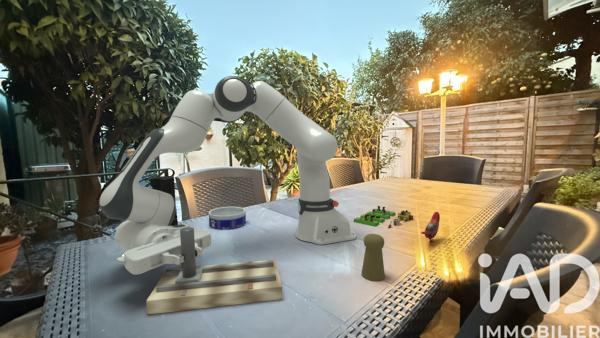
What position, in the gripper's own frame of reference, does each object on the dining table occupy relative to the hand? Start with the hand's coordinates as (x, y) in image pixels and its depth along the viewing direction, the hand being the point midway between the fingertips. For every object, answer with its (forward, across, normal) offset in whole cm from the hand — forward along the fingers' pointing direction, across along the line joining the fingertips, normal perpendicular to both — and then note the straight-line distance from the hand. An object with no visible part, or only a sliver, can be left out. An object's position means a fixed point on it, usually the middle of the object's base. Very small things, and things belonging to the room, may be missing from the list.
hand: (190, 256), depth 62 cm
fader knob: (-1, 0, +6) cm, 6 cm away
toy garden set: (+22, +83, +10) cm, 86 cm away
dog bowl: (-33, +41, +10) cm, 54 cm away
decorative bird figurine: (+42, +63, +9) cm, 77 cm away
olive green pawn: (+33, +31, +9) cm, 46 cm away
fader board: (+4, +5, +9) cm, 11 cm away
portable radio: (-40, +17, +9) cm, 44 cm away
